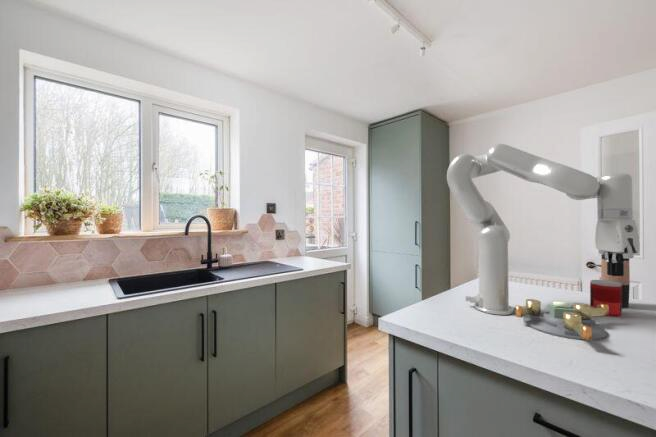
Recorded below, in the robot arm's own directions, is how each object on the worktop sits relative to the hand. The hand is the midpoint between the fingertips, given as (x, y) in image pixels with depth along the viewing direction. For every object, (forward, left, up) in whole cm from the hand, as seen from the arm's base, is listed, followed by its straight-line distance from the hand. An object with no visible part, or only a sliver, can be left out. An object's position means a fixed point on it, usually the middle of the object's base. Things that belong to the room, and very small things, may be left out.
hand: (615, 275), depth 86 cm
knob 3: (-14, -14, -14) cm, 24 cm away
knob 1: (-23, -1, -14) cm, 27 cm away
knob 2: (-4, +3, -14) cm, 15 cm away
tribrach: (-14, -2, -17) cm, 22 cm away
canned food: (+5, +17, -17) cm, 24 cm away
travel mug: (+13, +29, -17) cm, 36 cm away
